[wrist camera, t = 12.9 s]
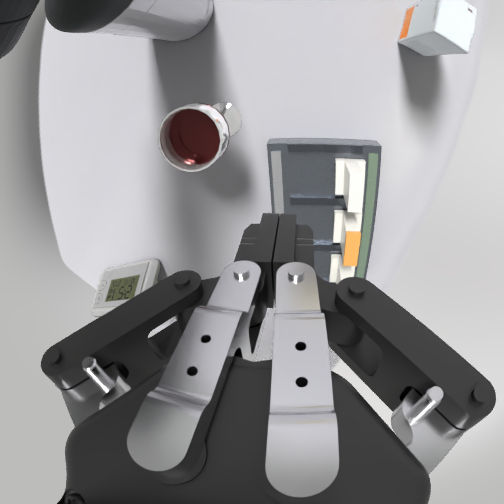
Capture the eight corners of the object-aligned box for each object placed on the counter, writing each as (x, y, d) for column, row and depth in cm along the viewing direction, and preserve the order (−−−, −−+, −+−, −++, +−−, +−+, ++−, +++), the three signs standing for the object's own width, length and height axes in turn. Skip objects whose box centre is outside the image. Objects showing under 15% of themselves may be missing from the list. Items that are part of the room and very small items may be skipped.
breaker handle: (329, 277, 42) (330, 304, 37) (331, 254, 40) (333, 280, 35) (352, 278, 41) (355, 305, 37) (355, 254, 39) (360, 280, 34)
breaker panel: (278, 272, 47) (275, 286, 44) (269, 138, 35) (266, 144, 32) (361, 274, 44) (364, 289, 42) (375, 140, 32) (382, 147, 29)
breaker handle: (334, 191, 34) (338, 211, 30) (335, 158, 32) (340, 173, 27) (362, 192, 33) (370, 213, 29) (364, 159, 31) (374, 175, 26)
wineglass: (189, 114, 35) (145, 132, 25) (229, 86, 32) (196, 91, 22) (217, 152, 37) (183, 184, 28) (258, 127, 34) (237, 149, 25)
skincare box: (405, 7, 20) (443, -15, 11) (433, 22, 20) (479, 9, 11) (395, 43, 24) (433, 31, 14) (424, 57, 24) (470, 55, 14)
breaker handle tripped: (332, 238, 38) (335, 265, 33) (334, 209, 36) (338, 233, 31) (357, 239, 37) (364, 266, 32) (361, 210, 35) (369, 234, 30)
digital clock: (162, 255, 50) (136, 294, 41) (176, 292, 55) (155, 332, 46) (99, 255, 54) (71, 288, 45) (115, 288, 59) (92, 321, 50)
